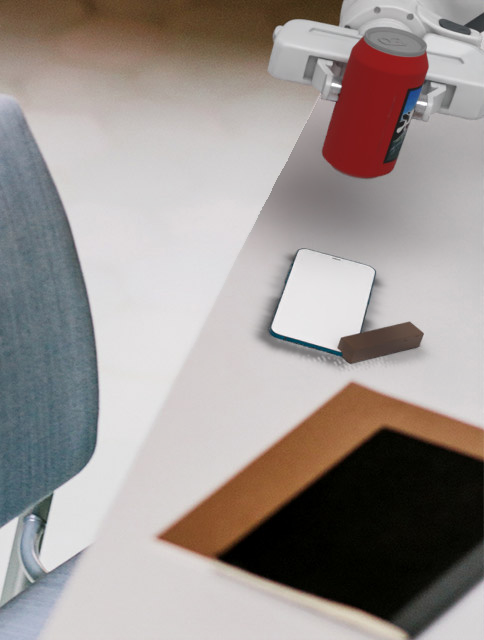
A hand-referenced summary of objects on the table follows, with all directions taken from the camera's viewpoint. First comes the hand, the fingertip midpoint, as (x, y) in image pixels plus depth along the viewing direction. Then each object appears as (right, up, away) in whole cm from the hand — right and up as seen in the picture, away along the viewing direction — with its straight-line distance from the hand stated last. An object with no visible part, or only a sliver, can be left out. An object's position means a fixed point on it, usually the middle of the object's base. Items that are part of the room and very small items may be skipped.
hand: (376, 102), depth 104 cm
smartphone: (-3, -17, +6) cm, 19 cm away
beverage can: (-1, -5, +5) cm, 7 cm away
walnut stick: (0, -22, +1) cm, 22 cm away
